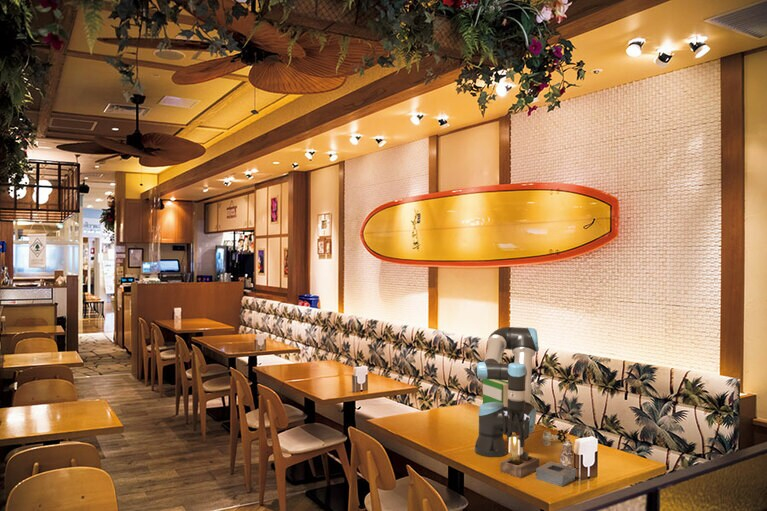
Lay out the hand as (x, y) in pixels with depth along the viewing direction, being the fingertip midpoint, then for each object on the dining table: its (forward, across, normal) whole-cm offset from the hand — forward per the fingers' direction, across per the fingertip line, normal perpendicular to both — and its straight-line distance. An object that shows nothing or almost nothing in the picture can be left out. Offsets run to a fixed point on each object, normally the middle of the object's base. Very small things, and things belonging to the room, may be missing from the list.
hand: (515, 452), depth 259 cm
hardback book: (+9, -48, +61) cm, 78 cm away
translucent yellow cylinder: (+7, 0, 0) cm, 7 cm away
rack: (+9, 0, +4) cm, 10 cm away
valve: (+9, -8, +50) cm, 51 cm away
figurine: (+9, +13, +23) cm, 28 cm away
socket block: (+9, +16, +6) cm, 19 cm away
